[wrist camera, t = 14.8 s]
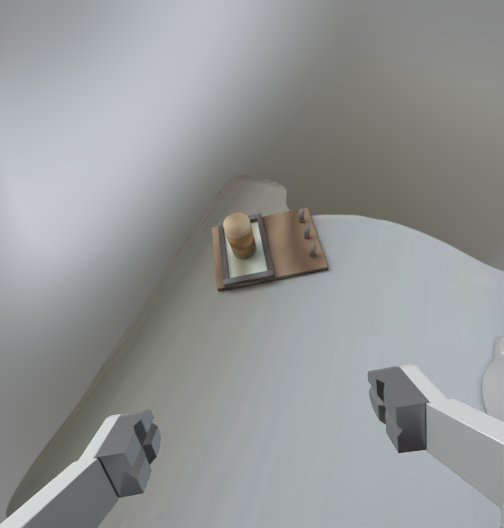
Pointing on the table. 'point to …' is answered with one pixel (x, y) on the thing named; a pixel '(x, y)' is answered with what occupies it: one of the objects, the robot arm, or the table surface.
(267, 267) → the wooden key rack
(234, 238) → the tan domed cylinder
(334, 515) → the table surface
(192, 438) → the table surface
